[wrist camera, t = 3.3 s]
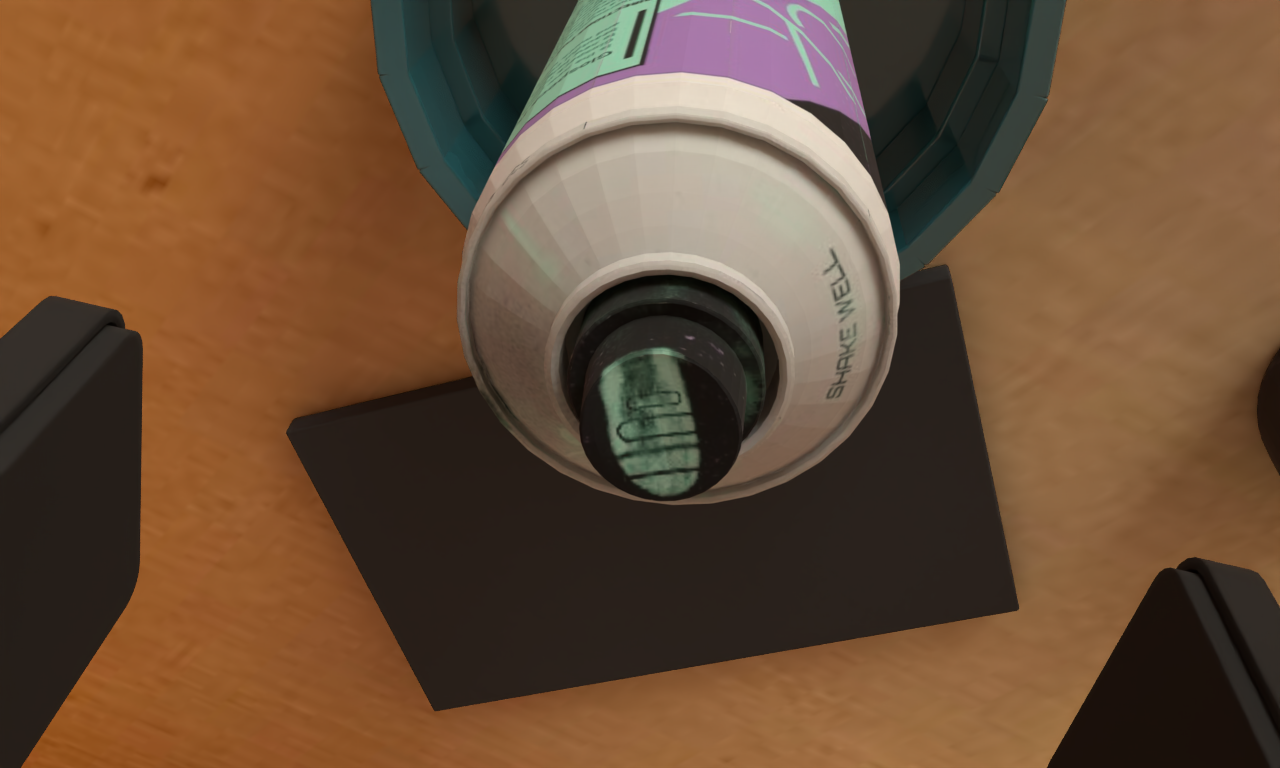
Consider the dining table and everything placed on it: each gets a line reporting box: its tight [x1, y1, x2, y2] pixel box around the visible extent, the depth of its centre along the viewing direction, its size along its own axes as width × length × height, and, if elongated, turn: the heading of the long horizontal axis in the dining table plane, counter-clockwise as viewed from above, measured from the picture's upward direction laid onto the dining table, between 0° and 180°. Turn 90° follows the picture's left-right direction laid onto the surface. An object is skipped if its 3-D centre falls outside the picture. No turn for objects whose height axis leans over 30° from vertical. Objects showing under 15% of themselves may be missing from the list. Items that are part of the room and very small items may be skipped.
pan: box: [370, 0, 1067, 281], centre depth 28 cm, size 14×14×5 cm
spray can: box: [457, 0, 900, 505], centre depth 21 cm, size 6×6×20 cm
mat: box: [286, 265, 1019, 711], centre depth 38 cm, size 12×20×1 cm, turn 107°
